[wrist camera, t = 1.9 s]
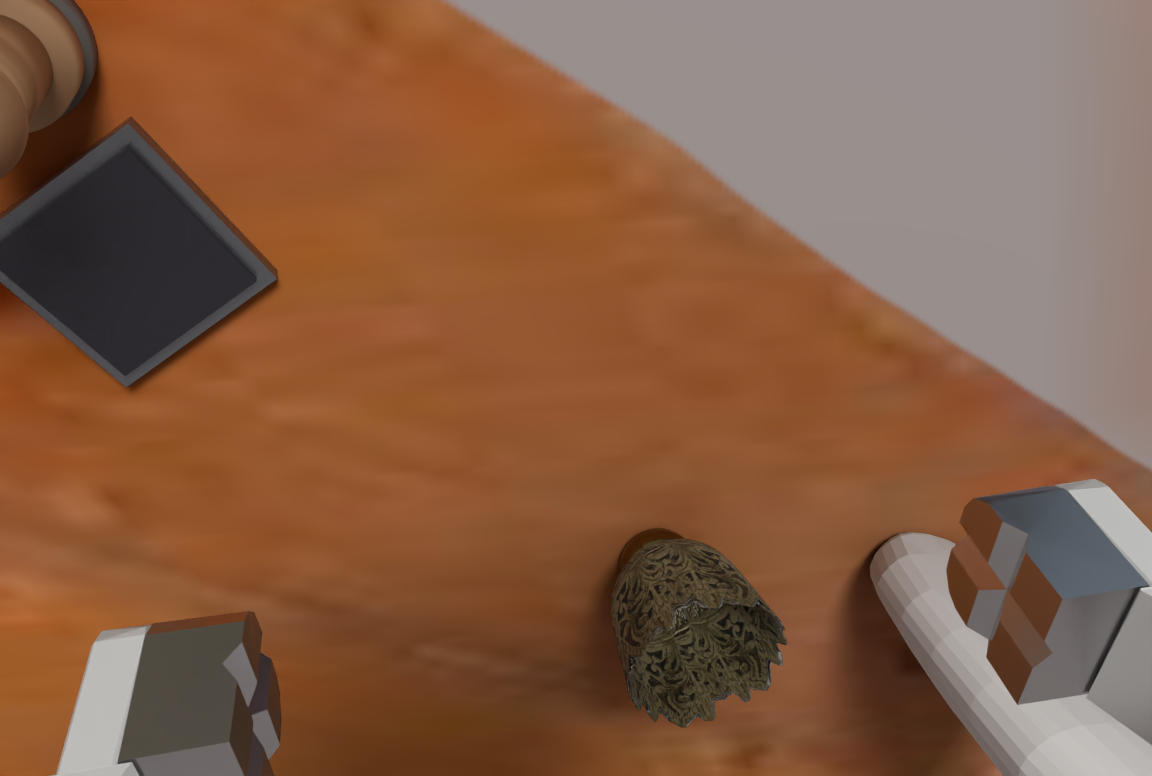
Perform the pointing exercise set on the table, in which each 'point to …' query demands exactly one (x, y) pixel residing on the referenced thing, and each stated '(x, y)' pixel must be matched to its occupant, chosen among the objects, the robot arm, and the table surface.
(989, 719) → the soap bottle
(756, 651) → the cup
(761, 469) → the table surface
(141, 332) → the ink pad
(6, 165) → the stamp
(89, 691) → the robot arm
